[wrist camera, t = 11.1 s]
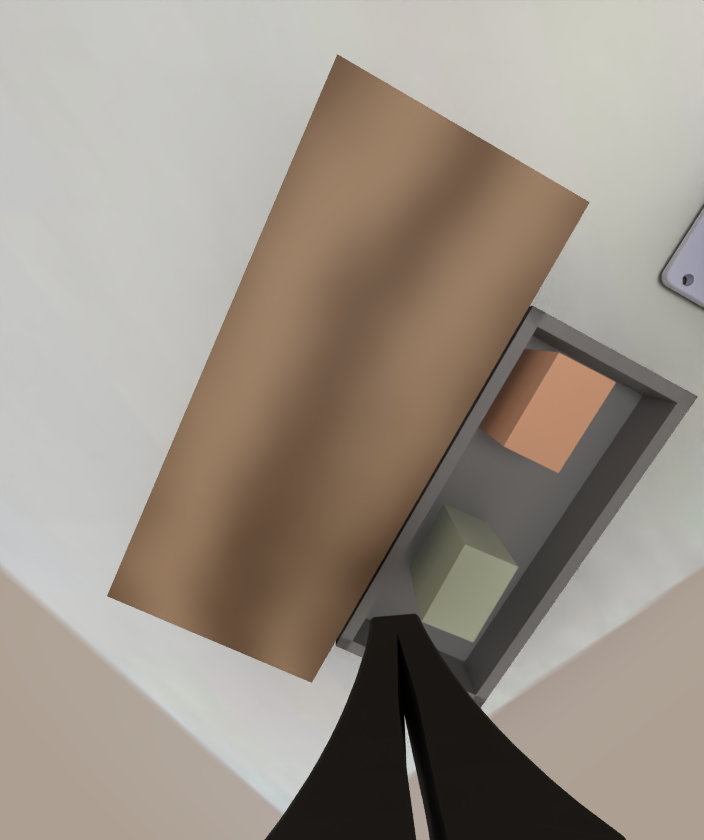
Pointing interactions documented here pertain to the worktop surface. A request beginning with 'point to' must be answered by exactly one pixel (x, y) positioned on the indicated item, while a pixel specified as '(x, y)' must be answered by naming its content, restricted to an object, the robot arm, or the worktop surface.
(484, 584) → the tile sage
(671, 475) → the worktop surface
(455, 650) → the tray
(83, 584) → the worktop surface
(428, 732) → the robot arm
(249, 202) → the worktop surface
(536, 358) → the tile terracotta
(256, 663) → the worktop surface
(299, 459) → the board
